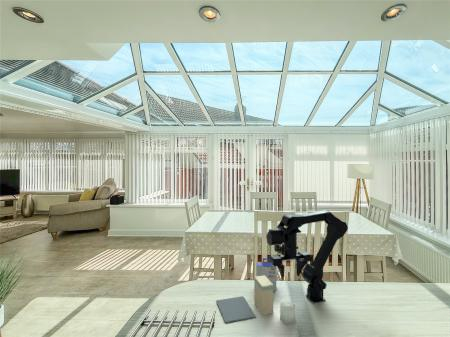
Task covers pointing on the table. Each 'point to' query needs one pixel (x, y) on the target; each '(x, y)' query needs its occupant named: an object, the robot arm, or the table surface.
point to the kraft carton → (263, 294)
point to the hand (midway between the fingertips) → (290, 276)
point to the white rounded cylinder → (287, 312)
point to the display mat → (235, 309)
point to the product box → (267, 271)
